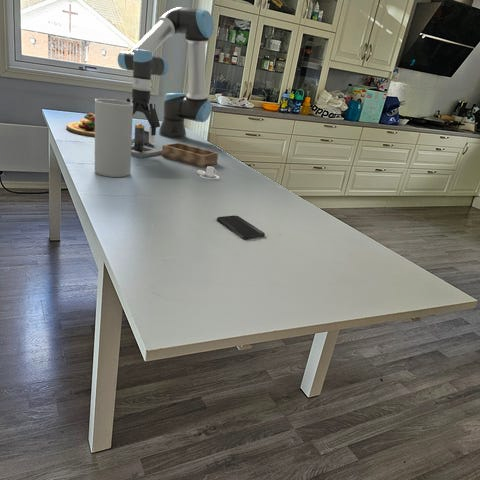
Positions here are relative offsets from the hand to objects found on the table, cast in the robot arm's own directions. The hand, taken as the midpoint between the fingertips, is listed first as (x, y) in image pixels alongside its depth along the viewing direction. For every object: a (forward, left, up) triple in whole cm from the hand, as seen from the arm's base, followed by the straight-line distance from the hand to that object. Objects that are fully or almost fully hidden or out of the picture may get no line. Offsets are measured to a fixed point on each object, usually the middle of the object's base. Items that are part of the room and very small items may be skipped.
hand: (139, 139), depth 182 cm
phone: (+45, +76, -6) cm, 89 cm away
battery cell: (0, 0, -6) cm, 6 cm away
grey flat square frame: (0, 0, -6) cm, 6 cm away
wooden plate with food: (-17, -41, -6) cm, 45 cm away
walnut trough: (-10, +21, -6) cm, 24 cm away
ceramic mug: (-15, -11, -6) cm, 19 cm away
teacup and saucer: (+3, +39, -7) cm, 40 cm away
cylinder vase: (+34, +17, -6) cm, 38 cm away
